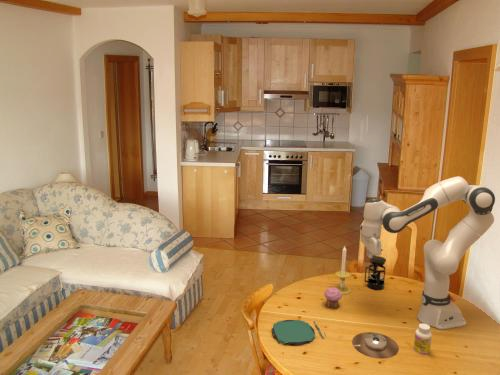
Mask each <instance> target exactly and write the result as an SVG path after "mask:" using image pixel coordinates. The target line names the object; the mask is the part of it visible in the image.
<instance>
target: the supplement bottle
mask: <svg viewBox="0 0 500 375" xmlns="http://www.w3.org/2000/svg"><path fill="white" fill-rule="evenodd" d="M414 334H415V335H414V342H413V350H414V351H415V352H416V353H418V354H420V355H427V356H429V355H430V353H431V344H432V337H433V335H432V332H431V326H429V325H427V324H424V323H419V324H418V328H417V329H416V330H415V333H414Z"/></svg>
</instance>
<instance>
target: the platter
mask: <svg viewBox="0 0 500 375" xmlns="http://www.w3.org/2000/svg"><path fill="white" fill-rule="evenodd" d="M368 334H379V335H382V336H383V337H385V338H386V340H387V343H386V349H385V350H383V351H373V350H370V349H368V348H367V347H366V345H365V339H366V336H367V335H368ZM351 342H352V343H351V344H352V346H353V348H354V349H355V350H356V351H357V352H359V353H360V354H362V355H364V356H366V357H369V358H373V359H380V360H381V359H383V360H385V359H390V358H393V357H395V356H397V355H398V353H399V351H400V348H399V347H400V346H399V345H398V343H397V342H396V341H395V340H394V339H393V338H391V337H390V336H387V335H385V334H382V333H378V332H372V331H369V332H368V331H367V332H366V331H365V332H361V333H358V334H355V336H353V338H352V340H351Z"/></svg>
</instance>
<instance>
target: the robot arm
mask: <svg viewBox="0 0 500 375" xmlns="http://www.w3.org/2000/svg"><path fill="white" fill-rule="evenodd" d="M457 201H463V203H464V204H466V205H467V206H468V207H469V208H470V210H469V212H468V214H467V215H466V216H464V217H463V219H461V220H460V221H459V222H458V223H456V225H455V226H454V227H452V228H450V230H449V232H448V235H447V238H446V239H445V241H444V242H442V241H441V240H438V239H430V240H428V241H426V242H425V243H424V245H423V254H424V257H423V258H424V286H423V290H422V294H421V305H420V308H419V311H418V313H417V316H416V317H417V319H418V320H419V322H421V324H427V325H429V326H430V327H433V328H436V329H438V330H442V331H443V330H449V329H453V328H454V329H456V328H461V327H466V326H467V321H466V319H465V318H464V317H463V315H462V311H461V309H460V308H459V307H458V306H457V305H456V304H455V303H454V302H455V301H456V298H455V297H454V296H451V294H450V293H449V289H450V283H451V282H450V280H451V279H450V275H453V274H455V273H456V272H457V271H458V268H459V265H460V262H461V260H462V258H463V257H464V255H465V254H466V252H467V251H468V250H469V248H471V247H472V246H473V245H474V244H475V243H476V242H477V241H479V239H480V238H481V237H482V236H483V235H484V234H485V233H487V231H489V229H490V228H491V227H492V226H493V224H494V222H495V216H494V215H493V213H492V210H493V208H494V205H495V202H496V197H495V193H494V191H492V190H491V189H489V188H487V187H486V186H484V185H480V184H470V183H468V181H467V180H466V179H465V178H464V177H462V176H452V177H449V178H446V179H444V180H441V181H439V182H436V183H434V184H432V185H430V186H429V187H427V188H426V189H425V190H424V193H423V194H422V198H421V199H420V200H419V202H417V203H416V204H414V205H412V206H410V207H408V208H406V209H404V210H401V209H400V208H399V207H398V206H396V205H393V204H390V203H388V202H385V201H384V200H383V199H382V198H378V197H374V198H370V199H368V200H366V202H365V203H364V209H363V222H362V224H360V225H359V229H360V236H359V237H360V242H361V243H362V244H363V245H364V247H365V249H366V256H367V258H369V259H370V258H372V256H378V255H379V256H381V254H382V251H381V249H382V240H381V239H380V236H381V235H382V226H383V229H384V231H385V230H386V232H388V233H390V234H398V233H400V232H402V231H403V230H404V229H405V228H406V227H407V226H408V225H409V224H411V223H413V222H415V221H417V220H419V219H421V218H423V217H425V216H426V215H428V214H431V213H432V212H434V211H436V210H438V209H440V208H442V207H445V206H447V205H449V204H452V203H454V202H457Z"/></svg>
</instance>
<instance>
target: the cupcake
mask: <svg viewBox="0 0 500 375" xmlns="http://www.w3.org/2000/svg"><path fill="white" fill-rule="evenodd" d="M324 297H325V299H326V305H327V307H328V308H333V309H336V308H338V306H339V301H340V300H341V299H342V297H343V294H342V293H341V291H340V290H338V289H337V288H335V286H333V287H328V288H327V289H326V290H325V291H324Z"/></svg>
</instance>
